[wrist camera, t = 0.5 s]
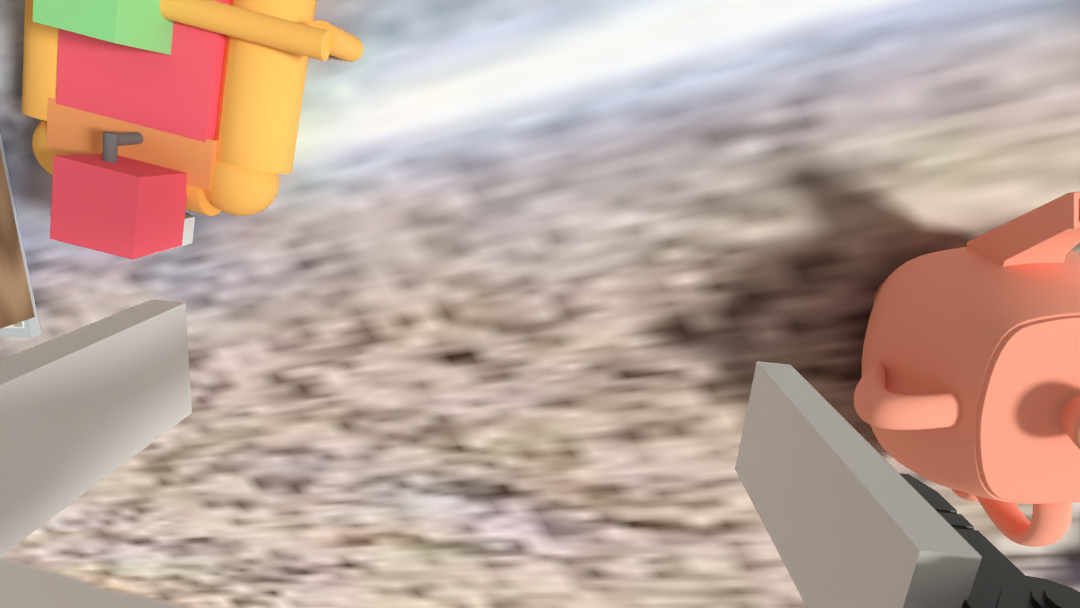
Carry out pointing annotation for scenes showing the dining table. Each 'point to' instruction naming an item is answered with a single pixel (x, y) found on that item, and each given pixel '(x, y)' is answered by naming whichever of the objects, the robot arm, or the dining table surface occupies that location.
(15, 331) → the blueprint board
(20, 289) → the pedestal
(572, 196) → the dining table surface
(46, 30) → the raft
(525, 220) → the dining table surface
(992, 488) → the teapot
